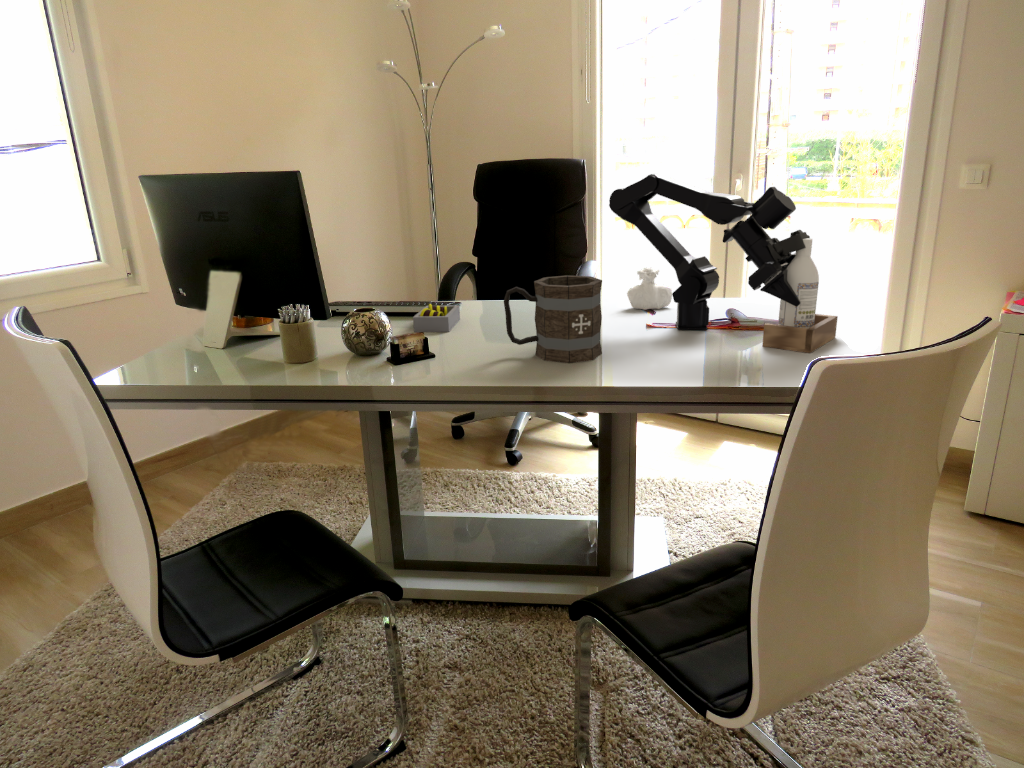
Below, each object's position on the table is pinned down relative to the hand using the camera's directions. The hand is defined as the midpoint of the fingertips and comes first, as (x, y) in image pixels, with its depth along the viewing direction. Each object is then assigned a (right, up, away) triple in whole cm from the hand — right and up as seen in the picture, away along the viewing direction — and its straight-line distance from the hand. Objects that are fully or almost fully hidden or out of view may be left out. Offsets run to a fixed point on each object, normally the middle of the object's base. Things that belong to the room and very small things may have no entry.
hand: (804, 302), depth 149 cm
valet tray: (-78, -2, +28) cm, 83 cm away
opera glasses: (-79, -3, +28) cm, 83 cm away
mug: (-52, -11, -1) cm, 53 cm away
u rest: (-1, -8, +3) cm, 9 cm away
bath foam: (-1, -7, +3) cm, 8 cm away
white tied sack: (-25, +3, +41) cm, 48 cm away
